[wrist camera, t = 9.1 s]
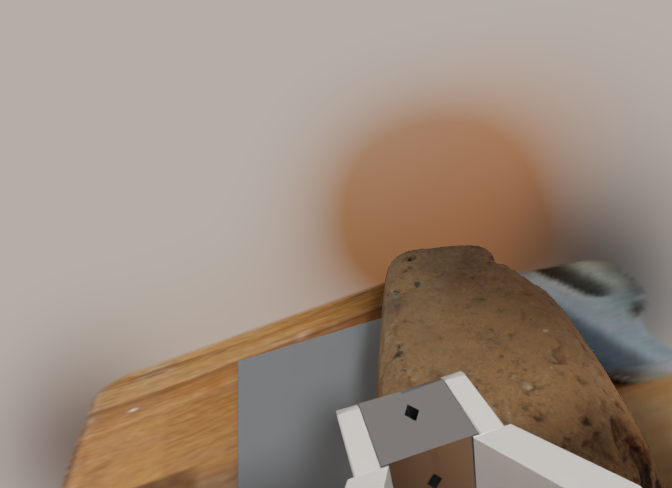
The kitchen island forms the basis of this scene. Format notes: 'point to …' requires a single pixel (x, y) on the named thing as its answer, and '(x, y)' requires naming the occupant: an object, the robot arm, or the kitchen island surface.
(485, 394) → the block
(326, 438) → the mat
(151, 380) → the kitchen island surface
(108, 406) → the kitchen island surface
